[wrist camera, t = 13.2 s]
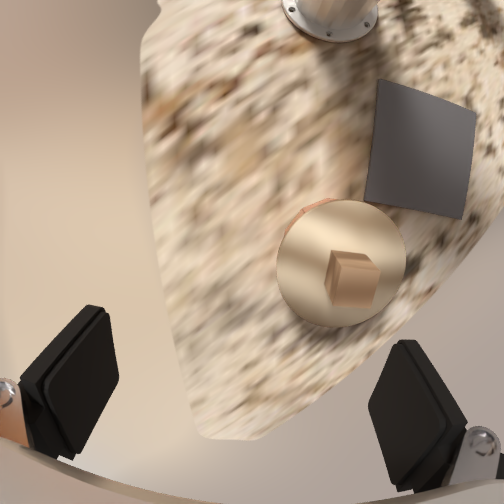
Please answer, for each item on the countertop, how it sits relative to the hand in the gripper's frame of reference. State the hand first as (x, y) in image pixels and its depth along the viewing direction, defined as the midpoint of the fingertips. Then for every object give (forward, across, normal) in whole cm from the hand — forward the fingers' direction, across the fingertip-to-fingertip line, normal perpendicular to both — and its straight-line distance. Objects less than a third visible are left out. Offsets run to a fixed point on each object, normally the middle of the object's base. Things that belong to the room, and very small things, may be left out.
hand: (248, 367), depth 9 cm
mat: (+30, -21, -10) cm, 38 cm away
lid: (+24, -10, +5) cm, 27 cm away
